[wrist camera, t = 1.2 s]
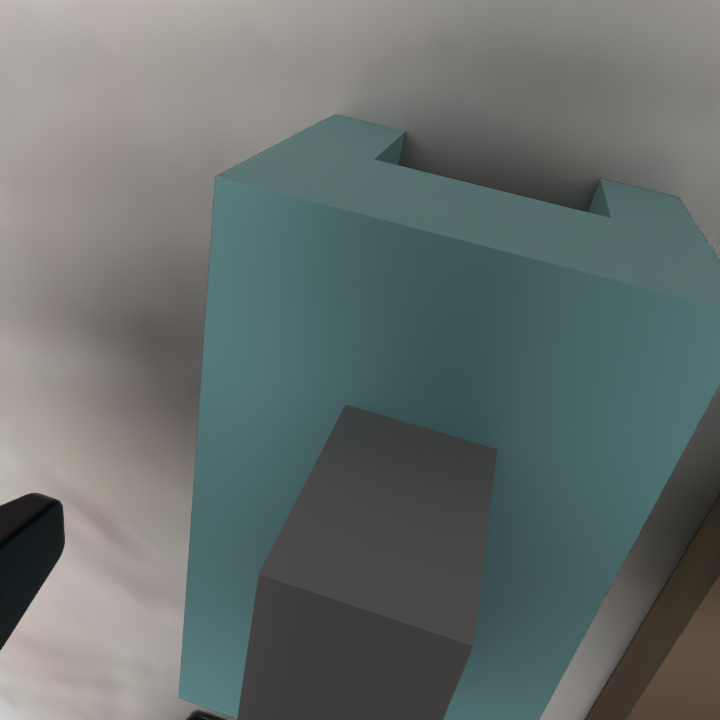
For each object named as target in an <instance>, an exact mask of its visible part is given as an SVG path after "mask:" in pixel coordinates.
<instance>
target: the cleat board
mask: <svg viewBox="0 0 720 720" xmlns="http://www.w3.org/2000/svg"><path fill="white" fill-rule="evenodd" d="M586 720H720V496H719V497H718V499H717V501H716V502H715V504H714V506H713V507H712V509H711V511H710V512H709V514H708V516H707V517H706V519H705V521H704V522H703V524H702V526H701V527H700V529H699V531H698V532H697V534H696V536H695V537H694V539H693V541H692V542H691V544H690V546H689V547H688V549H687V551H686V552H685V554H684V556H683V557H682V559H681V561H680V562H679V564H678V566H677V567H676V569H675V571H674V572H673V574H672V576H671V578H670V579H669V581H668V583H667V584H666V586H665V588H664V589H663V591H662V593H661V594H660V596H659V598H658V599H657V601H656V603H655V604H654V606H653V608H652V609H651V611H650V613H649V614H648V616H647V618H646V619H645V621H644V623H643V624H642V626H641V628H640V629H639V631H638V633H637V634H636V636H635V638H634V639H633V641H632V643H631V644H630V646H629V648H628V649H627V651H626V653H625V654H624V656H623V658H622V659H621V661H620V663H619V664H618V666H617V668H616V669H615V671H614V673H613V674H612V676H611V678H610V680H609V681H608V683H607V685H606V686H605V688H604V690H603V691H602V693H601V695H600V696H599V698H598V700H597V701H596V703H595V705H594V706H593V708H592V710H591V711H590V713H589V715H588V716H587V718H586Z"/></svg>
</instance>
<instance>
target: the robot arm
mask: <svg viewBox="0 0 720 720" xmlns="http://www.w3.org/2000/svg"><path fill="white" fill-rule="evenodd" d="M64 544H65V533H64V515H63V505H62V504H61V502H60V501H59V500H57V499H54V498H51V497H48V496H46V495H43V494H39V493H30V494H27V495H24V496H22V497H20V498H17V499H15V500H12V501H10V502H8V503H5V504H3V505H1V506H0V650H1V649H2V647H3V646H4V644H5V643H6V641H7V640H8V638H9V637H10V635H11V634H12V632H13V631H14V629H15V627H16V626H17V624H18V623H19V621H20V620H21V618H22V616H23V615H24V613H25V612H26V610H27V609H28V607H29V605H30V604H31V602H32V601H33V599H34V598H35V596H36V594H37V593H38V591H39V590H40V588H41V587H42V585H43V583H44V582H45V580H46V579H47V577H48V576H49V574H50V572H51V571H52V569H53V568H54V566H55V565H56V563H57V561H58V560H59V558H60V556H61V554H62V552H63V549H64ZM187 720H206V719H203V718H200V717H196V716H193V717H189V718H187Z"/></svg>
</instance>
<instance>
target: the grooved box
mask: <svg viewBox="0 0 720 720" xmlns="http://www.w3.org/2000/svg"><path fill="white" fill-rule="evenodd" d="M405 132H406V131H402V130H398V129H394V128H390V127H385V126H381V125H377V124H373V123H369V122H365V121H361V120H356V119H352V118H348V117H344V116H340V115H336V114H335V115H333V116H331V117H329V118H327V119H325V120H323V121H321V122H319V123H317V124H315V125H313V126H311V127H309V128H308V129H306V130H304V131H302V132H300V133H298V134H296V135H294V136H292V137H290V138H288V139H286V140H284V141H282V142H281V143H279V144H277V145H275V146H273V147H271V148H269V149H267V150H265V151H263V152H261V153H259V154H257V155H255V156H254V157H252V158H250V159H248V160H246V161H244V162H242V163H240V164H238V165H236V166H234V167H232V168H230V169H228V170H226V171H225V172H223V173H221V174H219V175H217V176H215V187H214V201H213V216H212V230H211V244H210V258H209V272H208V287H207V301H206V315H205V329H204V344H203V358H202V372H201V386H200V401H199V415H198V429H197V443H196V457H195V472H194V486H193V500H192V514H191V529H190V543H189V557H188V571H187V585H186V600H185V614H184V628H183V642H182V657H181V671H180V685H179V698H181V699H184V700H186V701H189V702H192V703H195V704H197V705H200V706H203V707H205V708H208V709H211V710H214V711H216V712H219V713H222V714H224V715H227V716H230V717H233V718H235V719H237V720H539V719H540V717H541V715H542V713H543V712H544V710H545V708H546V706H547V704H548V702H549V700H550V699H551V697H552V695H553V693H554V691H555V689H556V687H557V686H558V684H559V682H560V680H561V678H562V676H563V674H564V673H565V671H566V669H567V667H568V665H569V663H570V661H571V660H572V658H573V656H574V654H575V652H576V650H577V648H578V647H579V645H580V643H581V641H582V639H583V637H584V635H585V634H586V632H587V630H588V628H589V626H590V624H591V622H592V621H593V619H594V617H595V615H596V613H597V611H598V609H599V608H600V606H601V604H602V602H603V600H604V598H605V596H606V595H607V593H608V591H609V589H610V587H611V585H612V583H613V582H614V580H615V578H616V576H617V574H618V572H619V570H620V569H621V567H622V565H623V563H624V561H625V559H626V557H627V556H628V554H629V552H630V550H631V548H632V546H633V544H634V543H635V541H636V539H637V537H638V535H639V533H640V531H641V530H642V528H643V526H644V524H645V522H646V520H647V518H648V517H649V515H650V513H651V511H652V509H653V507H654V505H655V504H656V502H657V500H658V498H659V496H660V494H661V492H662V491H663V489H664V487H665V485H666V483H667V481H668V479H669V478H670V476H671V474H672V472H673V470H674V468H675V466H676V465H677V463H678V461H679V459H680V457H681V455H682V453H683V452H684V450H685V448H686V446H687V444H688V442H689V440H690V439H691V437H692V435H693V433H694V431H695V429H696V427H697V426H698V424H699V422H700V420H701V418H702V416H703V414H704V413H705V411H706V409H707V407H708V405H709V403H710V401H711V400H712V398H713V396H714V394H715V392H716V390H717V388H718V387H719V385H720V260H719V258H718V257H717V255H716V254H715V252H714V251H713V249H712V248H711V246H710V245H709V243H708V241H707V240H706V238H705V237H704V235H703V234H702V232H701V231H700V229H699V228H698V226H697V224H696V223H695V221H694V220H693V218H692V217H691V215H690V214H689V212H688V211H687V209H686V208H685V206H684V204H683V203H682V201H681V200H680V198H679V197H676V196H672V195H668V194H664V193H660V192H655V191H651V190H647V189H643V188H639V187H635V186H631V185H626V184H622V183H618V182H614V181H610V180H606V179H601V178H600V180H599V183H598V186H597V189H596V191H595V194H594V197H593V200H592V202H591V205H590V208H589V211H588V212H585V211H581V210H577V209H573V208H568V207H564V206H560V205H556V204H552V203H548V202H544V201H540V200H536V199H532V198H528V197H524V196H520V195H516V194H512V193H508V192H504V191H500V190H496V189H492V188H488V187H484V186H480V185H476V184H472V183H468V182H464V181H459V180H455V179H451V178H447V177H443V176H439V175H435V174H431V173H427V172H423V171H419V170H415V169H411V168H407V167H403V166H399V161H400V156H401V151H402V146H403V142H404V137H405Z"/></svg>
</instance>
